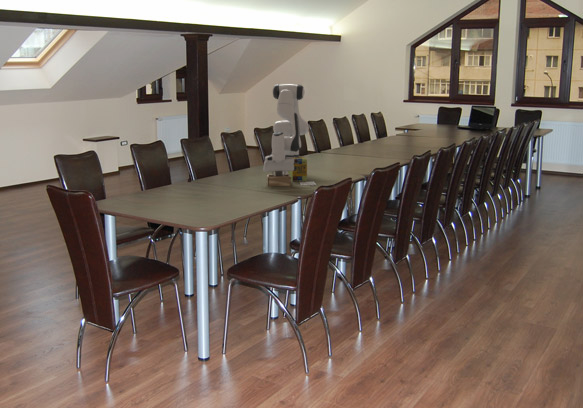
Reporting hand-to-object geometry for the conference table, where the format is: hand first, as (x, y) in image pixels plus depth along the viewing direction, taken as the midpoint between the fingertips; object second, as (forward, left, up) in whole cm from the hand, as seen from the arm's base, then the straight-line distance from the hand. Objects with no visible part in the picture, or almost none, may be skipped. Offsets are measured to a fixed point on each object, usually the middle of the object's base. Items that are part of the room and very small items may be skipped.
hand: (278, 178), depth 428 cm
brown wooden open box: (0, 0, -5) cm, 5 cm away
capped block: (0, 0, -3) cm, 3 cm away
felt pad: (0, +19, -5) cm, 20 cm away
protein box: (-19, +14, -5) cm, 24 cm away
